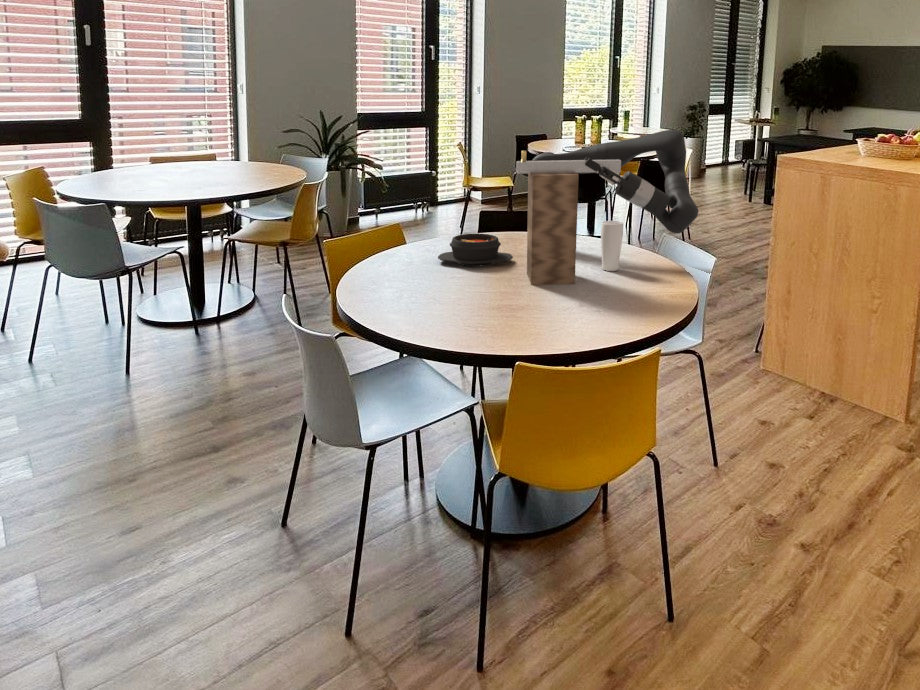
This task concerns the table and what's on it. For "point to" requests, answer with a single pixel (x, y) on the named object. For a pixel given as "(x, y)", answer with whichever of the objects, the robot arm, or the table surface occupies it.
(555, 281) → the pedestal
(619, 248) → the white tapered cylinder
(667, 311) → the table surface
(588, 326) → the table surface
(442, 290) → the table surface
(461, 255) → the casserole
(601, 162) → the bar
